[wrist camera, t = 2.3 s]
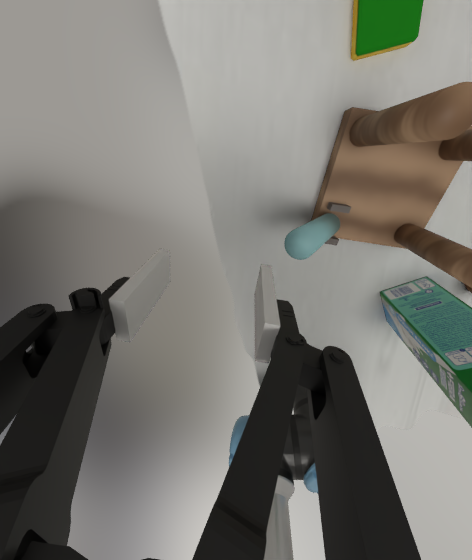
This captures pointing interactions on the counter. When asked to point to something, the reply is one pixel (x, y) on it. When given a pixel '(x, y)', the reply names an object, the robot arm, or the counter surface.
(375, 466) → the robot arm
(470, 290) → the food container
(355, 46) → the dish sponge
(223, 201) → the counter surface
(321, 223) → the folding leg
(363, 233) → the walnut stool
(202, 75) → the counter surface
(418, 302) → the milk carton
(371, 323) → the counter surface
